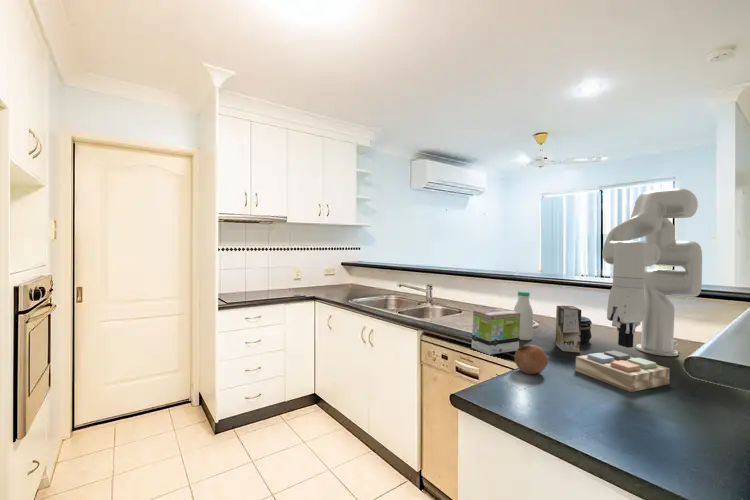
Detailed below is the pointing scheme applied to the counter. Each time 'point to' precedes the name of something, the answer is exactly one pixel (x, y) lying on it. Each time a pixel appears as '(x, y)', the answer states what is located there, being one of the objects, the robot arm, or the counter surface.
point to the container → (585, 331)
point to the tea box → (495, 331)
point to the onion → (531, 359)
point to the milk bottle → (524, 315)
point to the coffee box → (568, 328)
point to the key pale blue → (601, 358)
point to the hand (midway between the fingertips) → (625, 346)
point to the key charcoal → (617, 355)
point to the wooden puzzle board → (623, 374)
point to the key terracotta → (625, 366)
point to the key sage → (643, 363)
